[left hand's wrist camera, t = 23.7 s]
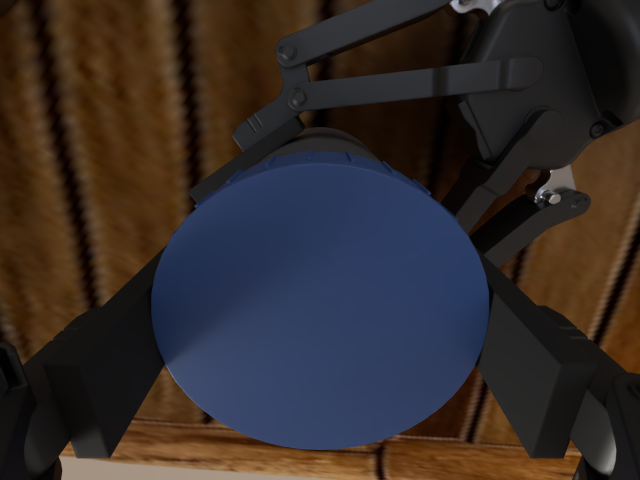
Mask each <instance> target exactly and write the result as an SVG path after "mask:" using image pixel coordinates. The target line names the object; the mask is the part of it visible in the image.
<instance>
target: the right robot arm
mask: <svg viewBox="0 0 640 480" xmlns="http://www.w3.org/2000/svg"><path fill="white" fill-rule="evenodd" d="M442 8H444V10H445V12H446V13H447V14H448V15H449V16H451V17H459V16H461V15H463V14H465V13H474V14H476V15H477V16H478V17H479V18H480V20H479V22H478V24H477V26H476V28H475V30H474V32H473V34H472V36H471V38H470V40H469V42H468V45H467V47H466V49H465V51H464V53H463V55H462V57H461V59H460V61H459V63H458V65H451V66H444V67H437V68H430V69H421V70H412V71H403V72H395V73H386V74H377V75H368V76H359V77H351V78H342V79H333V80H324V81H315V82H310V79H309V74H308V69H307V66H310V65H312V64H315V63H317V62H320V61H322V60H325V59H327V58H330V57H332V56H335V55H337V54H340V53H342V52H345V51H347V50H350V49H352V48H355V47H357V46H360V45H362V44H365V43H367V42H370V41H372V40H375V39H377V38H380V37H382V36H385V35H387V34H390V33H392V32H395V31H397V30H400V29H402V28H405V27H407V26H410V25H412V24H415V23H417V22H420V21H422V20H424V19H426V18H428V17H430V16H432V15H433V14H435V13H436V12H438V11H439V10H441V9H442ZM275 52H276V57H277V59H278V62H279V66H280V70H281V74H282V79H283V88H282V91H281V93H280V95H279V96H278V97H277V98H276V99H274V100H273V101H271V102H270V103H269V104H267V105H266V106H264V107H263V108H262V109H260V110H259V111H257V112H256V113H255V114H253V115H252V116H251V117H249V118H248V119H246V120H245V121H244V122H242V123H241V124H239V125H238V126H237V127H236V129H235V131H234V132H233V134H232V137H233V138H234V140H235V141H236V143H237V144H238V145H239V147H240V148H241V150H242V151H243V153H242V154H240V155H239V156H237V157H236V158H234V159H233V160H232V161H230V162H229V163H227V164H226V165H224V166H223V167H222V168H220V169H219V170H217V171H216V172H214V173H213V174H212V175H210V176H209V177H207V178H206V179H204V180H203V181H201V182H200V183H199V184H197V185H196V186H194V187H193V188H191V189H190V190H189V191H188V192H189V194H190V195H191V196H192V197H193V199H194V200H195V201H196V202H197V203H198V202H199V201H201V200H202V199H203V198H204V197H205V196H207V195H208V194H209V193H210V192H211V191H212V190H214V191H216V190H218V189H219V188H220V187H221V186H222V185H224V184H225V183H226V181H227V180H228V179H230V178H231V177H232V176H233V175H234V174H235V173H237V172H238V171H239V170H241V169H242V171H245V170H247V169H248V168H250V167H251V166H253V165H254V164H256V163H257V162H259V161H260V160H261V159H263V158H264V157H266V156H267V155H269V154H270V153H272V152H273V151H275V150H276V149H278V148H279V147H280V146H282V145H283V144H285V143H286V142H288V141H289V140H291V139H292V138H294V137H295V136H297V135H298V134H300V133H301V132H302V131H303V130H304V129H305V125H304V124H303V122H302V121H301V119H300V118H299V116H298V115H299V114H301V113H302V112H304V111H310V110H319V109H328V108H337V107H346V106H355V105H364V104H373V103H383V102H392V101H401V100H410V99H419V98H428V97H438V96H447V102H446V103H445V104H444V105H445V107H446V109H447V111H448V113H449V116H450V117H451V118H452V119H453V121H454V122H455V123H456V124H457V125H458V126H459V127H460V130H461V136H462V142H463V145H464V147H465V149H466V151H467V153H468V155H471V156H470V157H469V159H468V160H467V161H466V163H465V164H464V166H463V167H462V169H461V171H460V177H459V178H458V180H457V181H456V183H455V184H454V185H453V187H452V188H451V190H450V191H449V192H448V194H447V195H446V196H445V198H444V199H443V200H442V202H441V203H440V204H441V205H442V206H444V207H445V208H446V209H447V210H448V211H449V212H451V213H452V214H453V215H454V216H455V217H456V218H457V219H458V221H457V222H458V224H459V225H460V226H461V227H462V229H463V230H464V231H465V233H466V234H468V233H469V232H470V230H471V229H472V228H473V226H474V225H475V224H476V223H477V221H478V220H479V219H480V218H481V216H482V215H483V214H484V212H485V211H486V210H487V209H488V207H489V206H490V205H491V204H492V202H493V201H494V200H495V199H496V198H497V197H500V196H503V195H504V194H506V193H507V192H508V191H509V189H510V188H511V187H512V185H513V184H514V183H515V182H516V180H517V179H518V178H519V177H520V175H521V174H522V173H523V172H524V170H525V169H541V173H540V176H539V178H538V179H537V180H536V181H535V182H533V183H532V184H528V185H527V186H526V187H525V192H526V194H524V195H522V196H520V197H518V198H517V199H515V200H513V201H512V202H511V203H509V204H508V205H507V206H505V207H504V208H503V209H502V210H500V211H499V212H498V213H497V214H496V215H494V216H493V217H492V218H491V219H490V220H488V221H487V222H486V223H485V224H484V225H482V226H481V227H480V228H479V229H478V230H476V231H475V232H474V233H473V234H472V235H471V236H469V238H470V240H471V242H472V244H473V245H474V246H475V247H476V248H477V249H478V250H479V251H480V252H481V253H482V254H483V255H484V256H485V257H486V258H487V259H488V260H489V261H491V262H492V263H493V264H494V265H495V266H496V267H497V268H498V267H499V266H501V265H502V264H503V263H505V262H506V261H507V260H508V259H510V258H511V257H512V256H514V255H515V254H516V253H517V252H519V251H520V250H521V249H522V248H524V247H525V246H526V245H528V244H529V243H530V242H531V241H533V240H534V239H535V238H536V237H538V236H539V235H540V234H542V233H543V232H544V231H545V230H547V229H548V228H550V227H552V226H555V225H557V224H559V223H562V222H564V221H567V220H569V219H571V218H574V217H576V216H579V215H581V214H583V213H584V212H586V211H587V209H588V208H589V206H590V204H591V199H590V197H589V196H588V195H587V194H585V193H582V192H579V191H577V190H576V187H575V183H574V179H573V174H572V170H571V165H570V164H571V163H572V162H573V161H574V160H575V159H576V158H577V157H578V156H579V154H580V153H581V152H582V151H583V149H584V148H585V147H586V146H587V145H589V144H590V143H591V142H592V141H594V140H595V139H597V138H600V137H602V136H604V135H606V134H609V133H611V132H614V131H616V130H618V129H620V128H622V127H624V126H626V125H628V124H630V123H632V122H633V121H635V120H637V119H639V118H640V0H373V1H371V2H368V3H366V4H363V5H361V6H359V7H356V8H354V9H351V10H349V11H346V12H344V13H342V14H339V15H337V16H334V17H332V18H329V19H327V20H325V21H322V22H320V23H317V24H315V25H313V26H310V27H308V28H305V29H303V30H300V31H298V32H296V33H293V34H291V35H288V36H286V37H284V38H282V39H281V40H279V42H278V44H277V45H276V50H275ZM491 167H492V168H491ZM490 168H491V169H490Z"/></svg>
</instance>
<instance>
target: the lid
mask: <svg viewBox="0 0 640 480" xmlns="http://www.w3.org/2000/svg"><path fill="white" fill-rule="evenodd" d="M430 194H431V192H429V191H428V190H427V189H426V188H425V187H424V186H422V185H421V184H420V183H419V182H418V181H416V180H415V179H413V180H412V181H411V180H410V179H408V178H407V177H406V176H404V175H403V174H401V173H400V172H398V171H396V170H394V169H392V168H391V167H390V166H389V165H388V164H387V163H386V162H384V161H382V163H379V162H376V161H373V160H371V159H368V158H365V157H361V156H357V155H352V154H351V152H350V151H347V152H346V153H342V152H327V151H314V152H313V149H309V151H308V152H299V153H294V154H289V155H284V156H279V157H276V155H273V156H271V158H270V159H269V160H267V161H264V162H261V163H259V164H256V165H254V166H253V167H251V168H249V169H247V170H245V171H242V169H241V170H239V171H238V172H237V173H235V174H234V175H233V176H232V177H231V178H230V179H228V180H227V181H226V183H225V184H224V185H222V186H221V187H220V188H219V189H218V190H217V191H216V192H215V191H214V190H212V191H211V192H210V193H209V194H208V195H207V196H205V197H204V198H203V199H202V200H201V201H199V202H198V203H197V204H196V205H195V207H196V208H197V209H196V210H195V211H194V212H192V213H191V214H190V215H189V216H188V217H187V218H186V219H185V220H184V222H183V223H182V224H181V226H180V227H179V228H178V229H177V230H176V231H175V232H174V233H173V234H172V237H171V239H170V241H169V243H168V245H167V247H166V248H165V250H164V252H163V254H162V256H161V259H160V262H159V264H158V267H157V270H156V273H155V277H154V282H153V288H152V293H151V317H152V325H153V330H154V335H155V339H156V342H157V346H158V349H159V352H160V354H161V356H162V358H163V360H164V363H165V365H166V367H167V368H168V370H169V371H170V373H171V375H172V376H173V378H174V379H175V381H176V382H177V384H178V385H179V386H180V387H181V388H182V390H183V391H184V392H185V393H186V394H187V396H188V397H190V398H191V399H192V400H193V401H194V402H195V403H196V404H197V405H198V406H199V407H200V408H201V409H203V410H204V411H205V412H207V413H208V414H209V415H211V416H212V417H213V418H215V419H216V420H218V421H220V422H221V423H223V424H225V425H226V426H228V427H230V428H231V429H234V430H236V431H238V432H240V433H242V434H245V435H247V436H249V437H252V438H255V439H258V440H261V441H264V442H267V443H272V444H276V445H280V446H285V447H292V448H299V449H316V450H325V449H341V448H348V447H356V446H360V445H365V444H369V443H373V442H377V441H380V440H382V439H385V438H388V437H391V436H394V435H396V434H398V433H400V432H402V431H405V430H407V429H409V428H411V427H413V426H414V425H416V424H418V423H419V422H421V421H423V420H424V419H426V418H427V417H429V416H430V415H431V414H433V413H434V412H435V411H437V410H438V409H439V408H440V407H441V406H443V405H444V404H445V403H446V402H447V401H448V400H449V399H450V398H451V397H452V396H453V395H454V394H455V393H456V391H457V390H458V389H459V388H460V387H461V385H462V384H463V383H464V382H465V380H466V379H467V377H468V376H469V374H470V372H471V371H472V369H473V368H474V366H475V364H476V362H477V359H478V357H479V355H480V353H481V351H482V348H483V344H484V341H485V336H486V332H487V327H488V322H489V314H490V309H489V290H488V285H487V279H486V274H485V271H484V268H483V266H482V263H481V260H480V257H479V255H478V253H477V251H476V249H475V247H474V246H473V244H472V242H471V240H470V238H469V236H468V235H467V234H466V233H465V231H464V230H463V229H462V227H461V226H460V225H459V224H458V222H457V221H458V219H457V218H456V217H455V216H454V215H453V214H452V213H451V212H449V211H448V210H447V209H446V208H445V207H444V206H442V205H441V204H440V203H439V202H436V201H435V200H434V199H433V198H432V197H431V196H430Z"/></svg>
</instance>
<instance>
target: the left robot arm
mask: <svg viewBox="0 0 640 480" xmlns="http://www.w3.org/2000/svg"><path fill="white" fill-rule="evenodd" d="M14 2H15V0H0V16H1V15H3V14H4V13H5V12H6V11H7V10H8V9H9V8H10V7H11V6H12V4H13V3H14ZM473 246H474V245H473ZM166 247H167V246H165V247H164V248H163V249H162V250H161V251H160V252H159V253H158V254H157V255H156V256H155V257H154V258H153V259H152V260H151V261H150V262H149V263H148V264H147V265H146V266H144V267H143V268H142V269H141V270H140V271H139V272H138V273H137V274H136V275H135V276H134V277H133V278H132V279H131V280H130V281H129V282H128V283H127V284H126V285H124V286H123V287H122V288H121V289H120V290H119V291H118V292H117V293H116V294H115V295H114V296H113V297H112V298H111V299H110V300H109V301H108V302H107V303H106V304H105V305H103V306H102V307H94V308H92V309H90V310H89V311H87V312H85V313H83V314H81V315H80V316H78V317H76V318H75V319H74V320H73V321H72V322H71V323H70V324H69V325H67V326H66V327H65V328H64V331H61V332H60V333H59V334H57V335H56V336H55V337H54V338H53V341H50V342H48V343H47V344H46V345H45V346H44V347H43V348H42V349H41V350H40V351H38V352H37V353H36V354H35V355H34V356H33V357H32V358H31V359H29V360H28V361H27V362H26V363H25V364H24V365H23V366H22V363H21V361H20V358H19V355H18V353H17V350H16V348H15V346H13V345H12V344H10V343H5V342H0V480H61V476H62V466H61V461H60V459H59V455H60V453H61V452H62V451H63V449H64V448H65V447H66V445H67V444H68V443H69V441H71V444H72V447H73V449H74V452H75V455H76V457H77V458H110V457H111V455H112V454H113V452H114V450H115V448H116V447H117V445H118V443H119V442H120V440H121V438H122V436H123V435H124V433H125V431H126V430H127V428H128V426H129V425H130V423H131V421H132V419H133V418H134V416H135V414H136V413H137V411H138V409H139V407H140V406H141V404H142V402H143V401H144V399H145V397H146V396H147V394H148V392H149V390H150V389H151V387H152V385H153V384H154V382H155V380H156V378H157V377H158V375H159V373H160V372H161V370H162V368H163V366H164V365H165V363H164V360H163V358H162V356H161V354H160V352H159V349H158V346H157V342H156V339H155V335H154V330H153V325H152V317H151V293H152V288H153V282H154V277H155V273H156V270H157V267H158V264H159V262H160V259H161V256H162V254H163V252H164V250H165V248H166ZM474 247H475V246H474ZM475 249H476V251H477V253H478V255H479V257H480V260H481V263H482V266H483V268H484V271H485V274H486V279H487V285H488V290H489V309H490V314H489V322H488V327H487V332H486V336H485V341H484V344H483V348H482V351H481V353H480V355H479V357H478V359H477V362H476V366H477V368H478V370H479V371H480V373H481V375H482V376H483V378H484V380H485V381H486V383H487V385H488V387H489V388H490V390H491V392H492V393H493V395H494V397H495V399H496V400H497V402H498V404H499V405H500V407H501V409H502V410H503V412H504V414H505V416H506V417H507V419H508V421H509V422H510V424H511V426H512V428H513V429H514V431H515V433H516V434H517V436H518V438H519V440H520V441H521V443H522V445H523V446H524V448H525V450H526V451H527V453H528V455H529V457H530V458H564V455H565V453H566V450H567V447H568V445H569V442H570V439H571V440H572V442H573V443H574V444H575V446H576V447H577V448H578V450H579V451H580V452H581V454H582V456H581V459H580V461H579V464H578V466H577V469H576V472H575V474H574V477H573V479H572V480H640V374H635V373H628V372H626V371H625V370H624V369H623V368H622V367H621V366H620V365H619V364H617V363H616V362H615V361H614V360H613V359H612V358H611V357H609V356H608V355H607V354H606V353H605V352H604V351H603V350H602V349H600V348H599V347H598V346H597V345H596V344H595V343H594V342H593V341H591V340H588V338H587V336H586V335H585V334H584V333H582V332H581V331H580V330H577V327H576V326H575V325H573V324H572V323H571V322H570V321H569V320H568V319H567V318H566V317H564V316H563V315H561V314H560V313H558V312H556V311H554V310H552V309H550V308H549V307H547V306H537V305H536V304H535V303H534V302H533V301H532V300H530V299H529V298H528V297H527V296H526V295H525V294H524V293H523V292H522V291H521V290H520V289H519V288H518V287H517V286H516V285H515V284H514V283H513V282H512V281H510V280H509V279H508V278H507V277H506V276H505V275H504V274H503V273H502V272H501V271H500V270H499V269H498V268H497V267H496V266H495V265H494V264H493V263H492V262H491V261H489V260H488V259H487V258H486V257H485V256H484V255H483V254H482V253H481V252H480V251H479V250H478V249H477V248H476V247H475Z"/></svg>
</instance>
